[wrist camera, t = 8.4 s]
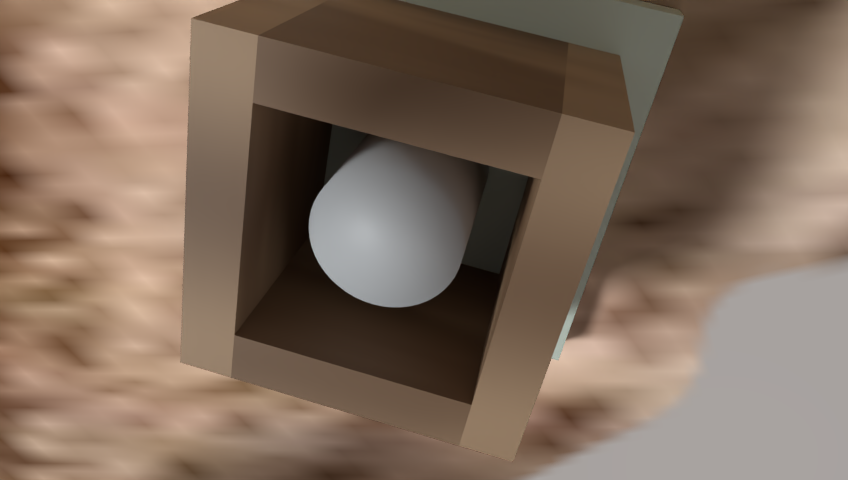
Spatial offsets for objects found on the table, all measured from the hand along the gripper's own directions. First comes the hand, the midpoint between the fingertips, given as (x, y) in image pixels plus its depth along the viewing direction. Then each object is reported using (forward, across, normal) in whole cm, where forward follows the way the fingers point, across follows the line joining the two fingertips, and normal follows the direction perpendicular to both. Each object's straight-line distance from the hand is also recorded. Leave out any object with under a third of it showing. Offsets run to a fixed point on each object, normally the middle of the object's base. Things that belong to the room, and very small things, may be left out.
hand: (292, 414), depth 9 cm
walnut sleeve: (+9, 0, 0) cm, 9 cm away
